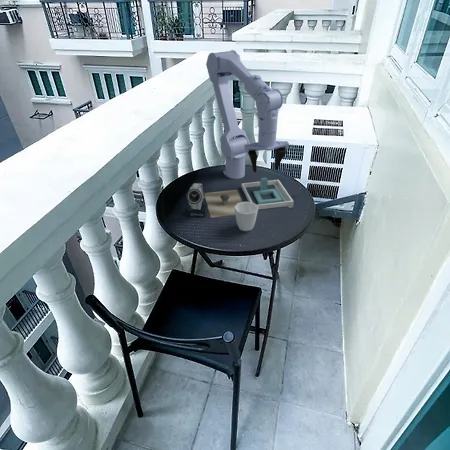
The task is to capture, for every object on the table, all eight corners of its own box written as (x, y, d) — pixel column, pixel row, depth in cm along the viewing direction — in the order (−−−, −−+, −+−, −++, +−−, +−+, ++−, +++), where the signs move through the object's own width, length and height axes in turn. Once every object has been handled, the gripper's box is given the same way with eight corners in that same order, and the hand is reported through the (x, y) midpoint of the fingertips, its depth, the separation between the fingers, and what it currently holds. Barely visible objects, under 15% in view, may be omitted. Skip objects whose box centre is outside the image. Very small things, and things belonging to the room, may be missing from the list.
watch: (186, 221, 104) (183, 191, 98) (193, 208, 111) (190, 178, 105) (204, 223, 104) (202, 192, 97) (209, 209, 110) (207, 180, 104)
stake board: (204, 195, 118) (203, 186, 116) (237, 192, 119) (237, 183, 117) (210, 220, 105) (210, 210, 103) (247, 215, 107) (247, 206, 104)
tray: (241, 189, 121) (241, 183, 120) (278, 185, 123) (278, 179, 121) (252, 212, 108) (252, 206, 107) (293, 207, 110) (293, 201, 109)
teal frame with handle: (251, 191, 118) (252, 178, 115) (273, 188, 119) (274, 176, 116) (259, 205, 110) (259, 192, 107) (282, 203, 111) (283, 189, 108)
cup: (233, 236, 98) (233, 213, 93) (235, 217, 106) (235, 195, 101) (257, 237, 97) (258, 214, 92) (257, 218, 105) (258, 196, 101)
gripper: (248, 136, 101) (247, 177, 108) (293, 133, 103) (289, 172, 110) (243, 129, 106) (242, 168, 114) (286, 125, 108) (282, 164, 116)
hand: (265, 169), depth 113 cm, fingers open, 7 cm apart
